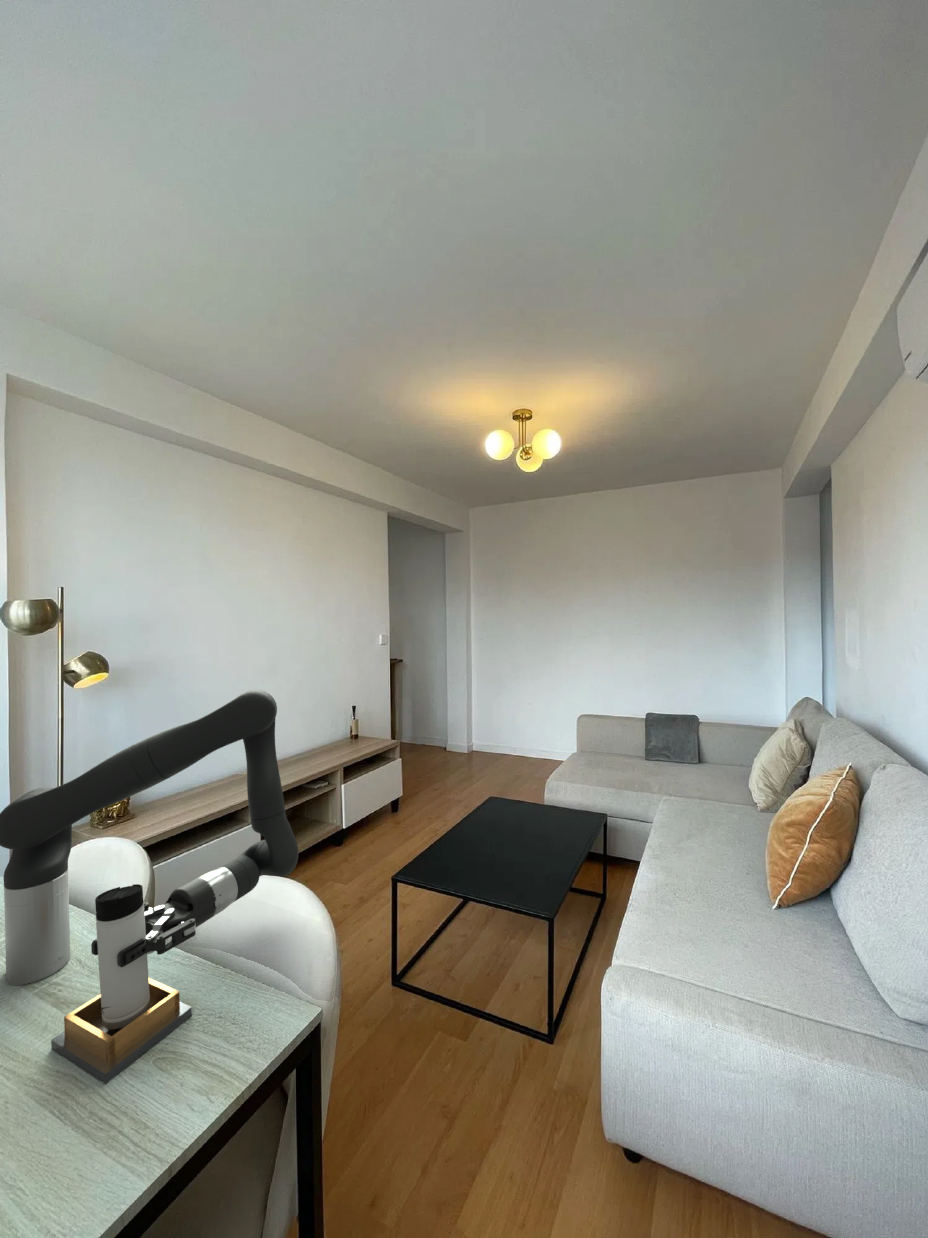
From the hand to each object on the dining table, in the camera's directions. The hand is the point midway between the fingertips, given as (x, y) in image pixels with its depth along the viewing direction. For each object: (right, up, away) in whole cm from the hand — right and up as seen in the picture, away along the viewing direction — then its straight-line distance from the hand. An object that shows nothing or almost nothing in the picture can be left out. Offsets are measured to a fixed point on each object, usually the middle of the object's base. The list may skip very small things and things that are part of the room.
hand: (105, 955), depth 76 cm
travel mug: (+2, -11, +2) cm, 11 cm away
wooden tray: (+1, -14, +2) cm, 14 cm away
